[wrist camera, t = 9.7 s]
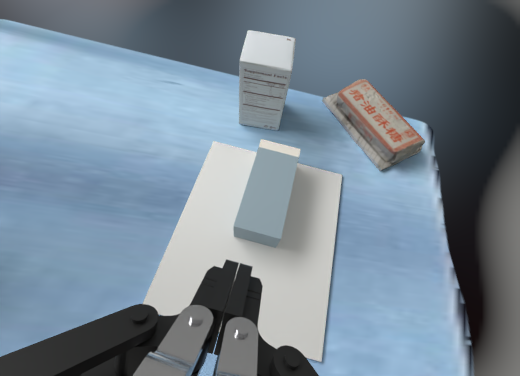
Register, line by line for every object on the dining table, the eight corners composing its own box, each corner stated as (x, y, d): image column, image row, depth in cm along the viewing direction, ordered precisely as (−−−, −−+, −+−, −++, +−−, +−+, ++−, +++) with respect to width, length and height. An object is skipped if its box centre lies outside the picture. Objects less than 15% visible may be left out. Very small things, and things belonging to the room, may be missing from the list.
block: (233, 226, 30) (261, 138, 36) (233, 236, 34) (258, 156, 40) (280, 239, 30) (300, 149, 36) (275, 247, 34) (294, 165, 40)
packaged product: (438, 137, 40) (394, 157, 38) (418, 153, 45) (378, 173, 42) (370, 68, 47) (328, 81, 44) (358, 89, 51) (320, 102, 49)
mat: (141, 309, 29) (140, 308, 29) (213, 142, 41) (213, 141, 41) (320, 361, 28) (321, 362, 28) (341, 176, 40) (342, 174, 40)
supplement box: (245, 95, 47) (247, 27, 36) (283, 102, 47) (297, 36, 36) (237, 125, 44) (238, 59, 32) (278, 132, 44) (293, 69, 32)
